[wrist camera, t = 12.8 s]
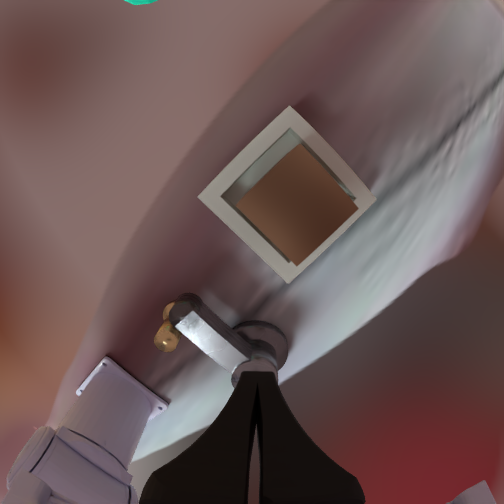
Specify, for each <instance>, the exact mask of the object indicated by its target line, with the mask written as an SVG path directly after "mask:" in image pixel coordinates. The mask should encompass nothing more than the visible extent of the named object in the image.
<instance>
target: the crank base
mask: <svg viewBox="0 0 504 504" xmlns="http://www.w3.org/2000/svg"><path fill="white" fill-rule="evenodd" d="M175 302H176V301H172V302H170V303H169V304H167V306H166V307H165V309H164V311H163V319H164V322H163V324H162V326H161V327H160V329H159V330H158V332H157V334H156V335H155V337H154V343H155V345H156V347H157V348H158V349H159V350H161V351H163V352H172V351H174V350H175V348H176V346H177V344H178V342H179V340H180V338H181V335H182V332H181V331H179V330H177V329H175V328H174V327H173V326H172V325H171V323H170V321H169V311H170V310H171V308H172V306H173V305H174V303H175ZM233 330H234V331H235V332H236V333H237V334H238V335H239V336H241V337H242V338H243V339H244V340H245V341H248V340H263V341H265V342H268V343H269V344H271V345H272V346H273V347H274V349H275V351H276V355H277V369H278V370H280V369H281V368H282V367H283V365H284V364H285V362H286V360H287V357H288V348H287V341H286V338H285V336H284V334H283V333H282V331H281V330H280V329H279V328H277V327H276V326H274V325H272V324H270V323H267V322H264V321H248V322H244V323H242V324H239V325H238V326H236V327H235V328H233Z"/></svg>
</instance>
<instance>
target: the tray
mask: <svg viewBox="0 0 504 504" xmlns="http://www.w3.org/2000/svg"><path fill="white" fill-rule="evenodd" d="M298 144H301V145H302V146H303V147H304V148H305V149H306V150H307V151H308V152H309V153H310V154H311V155H312V156H313V157H314V158H315V159H316V160H317V161H318V162H319V164H320V165H321V166H322V167H323V168H324V169H325V170H326V171H327V172H328V173H329V174H330V176H331V177H332V178H333V179H334V180H335V181H336V182H337V183H338V185H339V186H340V187H341V188H342V189H343V190H344V191H345V193H346V194H347V195H348V196H349V197H350V198H351V200H352V201H353V202H354V203H355V204H356V206H357V207H358V208H359V209H358V210H357V211H356V212H355V213H354V214H353V215H352V216H351V217H350V218H349V219H348V220H347V221H345V222H344V223H343V224H342V225H341V226H340V227H339V228H338V229H337V230H336V231H335V232H334V233H333V234H332V235H331V236H330V237H329V238H328V239H326V240H325V241H324V242H323V243H322V244H321V245H320V246H319V247H318V248H317V249H316V250H315V251H314V252H312V253H311V254H310V255H309V256H308V257H307V258H306V259H305V260H304V261H303V262H302V263H300V264H299V265H298V266H297V267H296V266H295V264H294V263H293V262H292V261H291V260H290V259H289V258H288V257H287V256H286V255H285V254H284V253H283V252H282V251H281V250H280V249H279V248H278V247H277V246H276V245H275V244H274V243H273V242H272V241H271V240H270V239H269V238H268V237H267V236H266V235H265V234H264V233H263V232H262V231H261V230H260V229H259V228H258V227H257V226H256V225H255V224H254V223H253V222H252V221H251V220H250V219H249V218H248V217H247V216H246V215H245V214H244V213H243V212H242V211H241V210H240V209H239V208H238V207H236V206H235V205H236V204H237V203H238V202H239V201H240V199H241V198H242V197H243V196H244V195H245V194H246V193H247V192H248V191H249V190H250V189H251V188H252V187H253V186H254V185H255V184H256V183H257V182H258V181H259V180H260V179H261V178H262V177H263V176H264V175H265V174H266V173H267V172H268V171H269V170H270V169H271V168H272V167H273V166H275V165H276V164H277V163H278V162H279V161H280V160H281V159H282V158H283V157H284V156H285V155H286V154H287V153H288V152H290V151H291V150H292V149H293V148H295V147H296V146H297V145H298ZM198 198H199V199H200V200H201V201H202V202H203V203H204V204H205V205H206V206H207V207H208V208H209V209H210V210H211V211H212V212H213V213H215V214H216V215H217V216H218V217H219V218H220V219H221V220H222V221H223V222H224V223H225V224H226V225H227V226H228V227H229V228H230V229H231V230H232V231H233V232H234V233H235V234H236V235H237V236H238V237H240V238H241V239H242V240H243V241H244V242H245V243H246V244H247V245H248V246H249V247H250V248H251V249H252V250H253V251H254V252H255V253H256V254H257V255H258V256H259V257H260V258H261V259H262V260H263V261H264V262H266V263H267V264H268V265H269V266H270V267H271V268H272V269H273V270H274V271H275V272H276V273H277V274H278V275H279V276H280V277H281V278H282V279H283V280H284V281H285V282H286V283H287V284H289V283H290V282H291V281H292V280H293V279H294V278H295V277H296V276H298V275H299V274H300V273H301V272H302V271H303V270H304V269H305V268H306V267H307V266H308V265H310V264H311V263H312V262H313V261H314V260H315V259H316V258H317V257H318V256H319V255H320V254H321V253H322V252H323V251H325V250H326V249H327V248H328V247H329V246H330V245H331V244H332V243H333V242H334V241H335V240H336V239H337V238H338V237H339V236H340V235H341V234H342V233H343V232H344V231H345V230H347V229H348V228H349V227H350V226H351V225H352V224H353V223H354V222H355V221H356V220H357V219H358V218H359V217H360V216H361V215H362V214H363V213H364V212H365V211H366V210H367V209H368V208H369V207H370V206H371V205H372V204H373V203H374V202H375V201H376V200H377V199H376V198H375V197H374V195H373V194H372V193H371V192H370V190H369V189H368V188H367V187H366V186H365V184H364V183H363V182H362V181H361V180H360V178H359V177H358V176H357V175H356V174H355V173H354V171H353V170H352V169H351V168H350V167H349V166H348V165H347V164H346V162H345V161H344V160H343V159H342V158H341V157H340V156H339V155H338V154H337V152H336V151H335V150H334V149H333V148H332V147H331V146H330V145H329V144H328V143H327V142H326V141H325V140H324V139H323V138H322V137H321V136H320V135H319V134H318V133H317V132H316V130H315V129H314V128H313V127H312V126H311V125H310V124H309V123H307V122H306V121H305V120H304V119H303V118H302V117H301V116H300V115H299V114H298V113H297V112H296V111H295V110H294V109H293V108H292V107H291V106H288V107H287V108H286V109H285V110H284V111H283V112H282V113H281V114H280V115H279V116H277V117H276V118H275V119H274V120H273V121H272V122H271V123H270V124H269V125H268V126H267V127H266V128H265V129H264V130H263V131H262V132H260V133H259V134H258V135H257V136H256V137H255V138H254V139H253V140H252V141H251V142H250V143H249V144H248V145H247V146H246V147H245V148H244V149H243V150H242V151H241V152H240V153H239V154H238V155H237V156H236V157H235V158H234V159H233V160H232V161H231V162H230V163H229V164H228V165H227V166H226V167H225V168H224V169H223V170H222V171H221V172H220V173H219V174H218V175H217V177H216V178H215V179H214V180H213V181H212V182H211V183H210V184H209V185H208V186H207V187H206V188H205V189H204V190H203V191H202V192H201V194H200V195H199V196H198Z"/></svg>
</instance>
